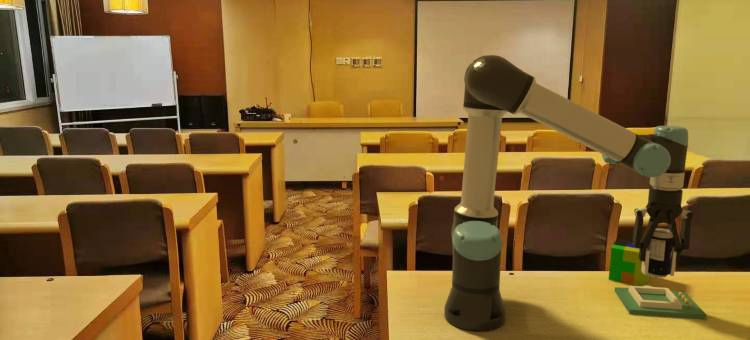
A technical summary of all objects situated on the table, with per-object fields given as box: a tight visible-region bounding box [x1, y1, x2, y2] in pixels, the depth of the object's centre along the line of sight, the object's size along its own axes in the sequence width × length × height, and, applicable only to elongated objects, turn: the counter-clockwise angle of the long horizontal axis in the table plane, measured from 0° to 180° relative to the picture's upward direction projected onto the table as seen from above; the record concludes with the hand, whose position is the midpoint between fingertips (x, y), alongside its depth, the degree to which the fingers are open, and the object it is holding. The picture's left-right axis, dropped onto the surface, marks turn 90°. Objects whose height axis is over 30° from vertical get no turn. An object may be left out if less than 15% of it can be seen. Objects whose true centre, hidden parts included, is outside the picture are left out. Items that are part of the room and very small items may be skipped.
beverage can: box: [648, 227, 674, 278], centre depth 139 cm, size 6×6×12 cm
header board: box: [614, 285, 708, 320], centre depth 141 cm, size 18×14×3 cm
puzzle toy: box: [608, 238, 651, 287], centre depth 158 cm, size 10×10×10 cm
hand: (657, 273), depth 140 cm, fingers closed on beverage can, 6 cm apart
